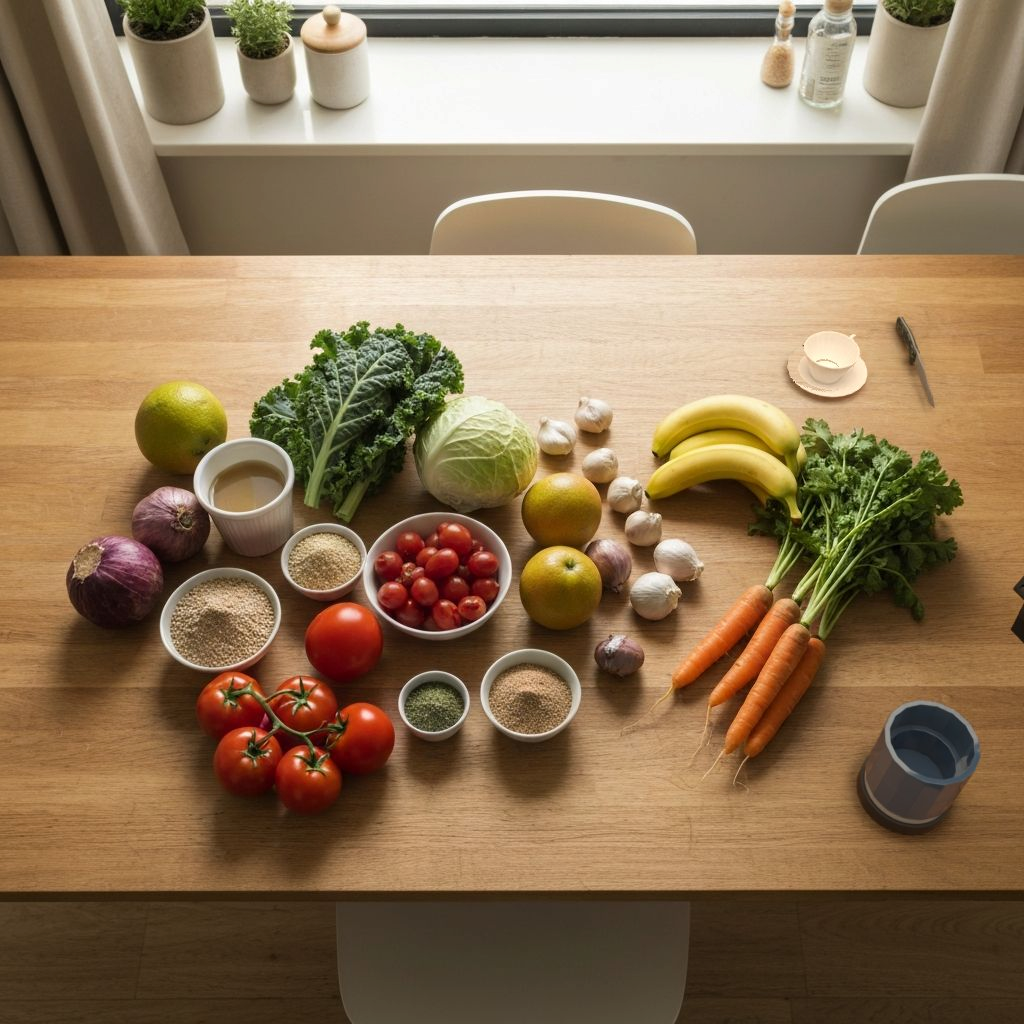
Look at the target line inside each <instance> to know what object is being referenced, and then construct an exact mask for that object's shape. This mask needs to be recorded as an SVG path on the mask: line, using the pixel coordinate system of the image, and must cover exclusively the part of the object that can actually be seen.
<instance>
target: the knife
mask: <svg viewBox="0 0 1024 1024" xmlns="http://www.w3.org/2000/svg"><path fill="white" fill-rule="evenodd" d="M895 324H896V330H897V333H898V334H899V336H900V338H901V341H902V343H903V344H904V345H905V346H906V348H907V351H908V352H907V353H908V362H909V363H910V364H912V365H914V367H915V370H916V373H917V375H918V378H919V381H920V383H921V386H922V390H923V391H924V394H925V397H926V399H927V401H928V404H929V406H931V407H932V408H933V409H936V407H935V401H934V395H933V393H932V390H931V388H930V384H929V381H928V378H927V373H926V369H925V365H924V363H923V361H922V358H921V355H920V353H921V351H920V350H919V348H918V346H917V341H916V339H915V336H914V334H913V332H912V330H911V328H910V327H909V325H908V324H907V322H906V320H905V318H904V317H903V316H898V317H897V318H896V323H895Z"/></svg>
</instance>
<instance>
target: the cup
mask: <svg viewBox="0 0 1024 1024" xmlns="http://www.w3.org/2000/svg"><path fill="white" fill-rule="evenodd" d="M868 756H869V757H868ZM868 756H867V757H868V759H867V761H866V764H865V766H866V780H867V783H868V785H869V787H870V789H871V791H872V793H873V795H874V797H875V798H876V799H877V800H878V801H879V802H880V803H881V804H882V805H883V806H884V807H885V808H886V809H888V810H890V811H892V812H893V813H895V814H897V815H899V816H901V817H903V818H910V819H917V820H925V819H929V818H933V817H938V816H939V815H941V814H942V813H943V812H944V811H945V810H947V809H948V808H949V807H950V806H951V807H952V805H953V804H954V802H955V800H956V799H957V798H958V796H959V795H960V794H961V792H962V791H963V789H964V788H965V786H966V785H967V784H968V782H969V780H970V779H971V777H972V776H973V775H974V773H975V772H976V770H977V767H978V764H979V763H980V760H981V758H982V755H981V746H980V739H979V737H978V735H977V733H976V732H975V730H974V728H973V725H972V724H971V723H970V721H968V720H967V719H966V718H965V717H964V716H963V715H961V713H959V712H958V711H957V710H956V709H954V708H951V707H949V706H947V705H945V704H943V703H940V702H938V701H933V700H932V701H931V700H925V699H917V700H912V701H909V702H904V703H901V705H899V706H898V707H896V708H895V709H894V710H892V711H891V712H890V713H889V716H888V717H887V720H886V721H885V723H884V725H883V727H882V729H881V731H880V733H879V735H878V737H877V739H876V741H875V743H874V745H873V747H872V748H871V750H870V753H869V755H868Z"/></svg>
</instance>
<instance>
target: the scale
mask: <svg viewBox="0 0 1024 1024" xmlns="http://www.w3.org/2000/svg"><path fill="white" fill-rule="evenodd" d="M868 757H869V755H868V756H867V757H866V758H865V760H864V761H863V764H862V765H861V767H860V769H859V771H858V774H857V778H856V792H857V797H858V799H859V801H860V804H861V806H862V808H863V810H864V811H865V812H866V814H867V815H868V816H869V817H870V818H871V819H872V820H873V821H874V822H876V824H878V825H879V826H880V827H883V828H884V829H886V830H888V831H890V832H892V833H896V834H900V835H904V836H919V835H923V834H926V833H927V834H928V833H929V832H931V831H933V830H934V829H936V828H937V827H938V826H939V825H940V824H941V823H942V822H943V820H944V819H945V817H946V816H947V815H948V813H949V812H950V810H951V808H952V805H951V806H950V807H949V808H948V809H947V810H945V811H944V812H943V813H942V814H941V815H939V816H938V817H933V818H929V819H925V820H917V819H910V818H903V817H901V816H899V815H897V814H895V813H893V812H892V811H890V810H888V809H886V808H885V807H884V806H883V805H882V804H881V803H880V802H879V801H878V800H877V799H876V798H875V797H874V795H873V793H872V791H871V789H870V787H869V785H868V783H867V780H866V766H865V764H866V761H867V759H868Z"/></svg>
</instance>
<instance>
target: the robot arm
mask: <svg viewBox="0 0 1024 1024" xmlns="http://www.w3.org/2000/svg"><path fill="white" fill-rule="evenodd" d="M1012 590H1013V591H1014V593H1016V594H1017V595H1018V596H1019V598H1020V599H1022V601H1024V575H1023V576H1022V577H1021V578H1020V579H1019V580H1018V581H1017V583H1015V585H1014V587H1013V588H1012ZM1010 631H1011V632H1012V633H1013V634H1014V635H1015V637H1016V638H1017V639H1019V640H1020V641H1021V642H1022V643H1023V644H1024V602H1023V603H1022V606H1021V607H1020V609H1019V611H1018V614H1017V616H1016V617H1015V619H1014V621H1013V623H1012V626H1011V628H1010Z"/></svg>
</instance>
